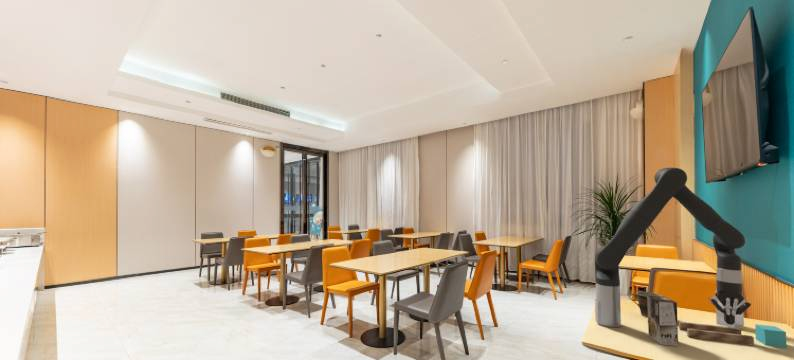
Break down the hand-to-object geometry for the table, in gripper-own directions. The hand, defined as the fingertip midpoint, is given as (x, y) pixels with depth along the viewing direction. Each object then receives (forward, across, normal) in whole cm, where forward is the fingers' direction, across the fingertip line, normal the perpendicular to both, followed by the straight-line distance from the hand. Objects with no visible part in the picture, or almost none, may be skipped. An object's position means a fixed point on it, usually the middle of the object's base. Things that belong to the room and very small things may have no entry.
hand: (729, 324), depth 138 cm
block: (+5, +12, 0) cm, 13 cm away
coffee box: (+6, -26, -13) cm, 30 cm away
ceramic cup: (+6, -23, +20) cm, 31 cm away
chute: (+6, -5, 0) cm, 8 cm away
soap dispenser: (+6, +7, +18) cm, 20 cm away
